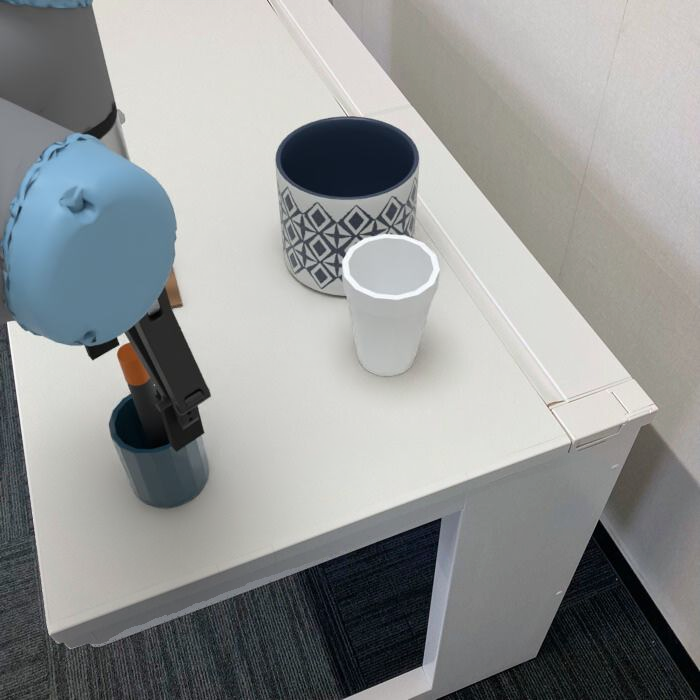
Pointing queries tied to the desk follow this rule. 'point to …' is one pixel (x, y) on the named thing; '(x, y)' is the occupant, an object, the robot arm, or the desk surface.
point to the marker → (143, 396)
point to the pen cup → (157, 461)
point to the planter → (342, 193)
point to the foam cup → (389, 299)
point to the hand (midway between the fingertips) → (144, 393)
